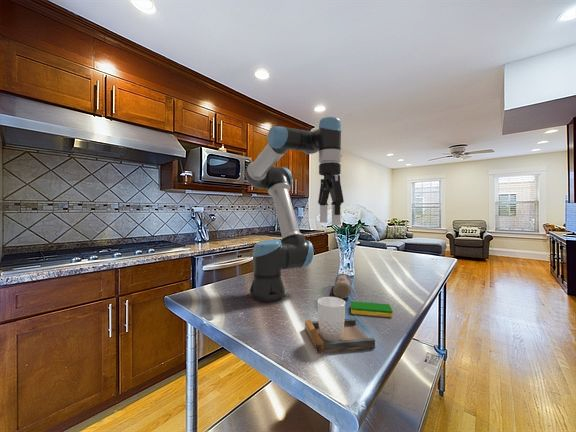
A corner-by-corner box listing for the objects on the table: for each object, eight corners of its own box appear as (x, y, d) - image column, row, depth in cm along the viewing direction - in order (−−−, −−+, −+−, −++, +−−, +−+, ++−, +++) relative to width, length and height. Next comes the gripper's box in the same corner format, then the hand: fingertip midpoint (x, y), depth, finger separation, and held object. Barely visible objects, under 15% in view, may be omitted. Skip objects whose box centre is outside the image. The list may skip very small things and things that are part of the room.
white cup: (315, 329, 77) (315, 297, 77) (340, 328, 78) (340, 296, 78) (320, 343, 69) (320, 307, 69) (348, 342, 70) (349, 306, 70)
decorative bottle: (351, 299, 104) (351, 283, 104) (332, 298, 106) (332, 282, 106) (352, 282, 129) (352, 268, 129) (337, 281, 131) (337, 268, 131)
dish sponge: (350, 307, 97) (350, 300, 97) (389, 310, 95) (389, 303, 94) (351, 314, 91) (351, 308, 90) (392, 318, 88) (392, 311, 88)
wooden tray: (354, 324, 82) (354, 316, 82) (375, 347, 69) (375, 338, 68) (305, 328, 79) (305, 320, 79) (317, 353, 66) (317, 343, 66)
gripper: (354, 157, 78) (354, 226, 79) (328, 169, 103) (328, 221, 104) (331, 156, 77) (330, 226, 78) (310, 168, 102) (310, 221, 102)
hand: (329, 223), depth 91 cm, fingers open, 13 cm apart
